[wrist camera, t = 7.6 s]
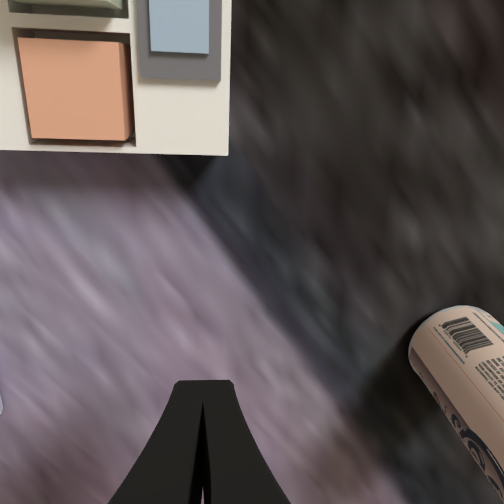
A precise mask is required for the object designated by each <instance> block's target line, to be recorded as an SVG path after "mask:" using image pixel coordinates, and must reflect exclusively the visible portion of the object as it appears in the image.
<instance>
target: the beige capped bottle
mask: <svg viewBox="0 0 504 504" xmlns="http://www.w3.org/2000/svg"><path fill="white" fill-rule="evenodd" d="M408 356H409V362H410V364H411V366H412V368H413V370H414V371H415V372H416V373H417V374H418V375H419V376H420V378H421V379H422V381H423V382H424V384H425V385H426V387H427V388H428V390H429V391H430V393H431V394H432V396H433V397H434V399H435V400H436V402H437V403H438V405H439V406H440V408H441V409H442V411H443V412H444V414H445V415H446V417H447V418H448V420H449V421H450V423H451V424H452V426H453V427H454V429H455V430H456V432H457V433H458V435H459V436H460V438H461V439H462V441H463V443H464V444H465V446H466V447H467V449H468V450H469V452H470V453H471V455H472V456H473V458H474V459H475V461H476V462H477V464H478V465H479V467H480V468H481V470H482V471H483V473H484V474H485V476H486V477H487V479H488V480H489V482H490V483H491V485H492V486H493V488H494V489H495V491H496V492H497V494H498V495H499V497H500V498H501V500H502V501H503V503H504V327H503V326H502V325H501V324H500V323H499V322H498V321H496V320H495V319H494V318H493V317H492V316H491V315H490V314H488V313H487V312H485V311H483V310H482V309H480V308H477V307H473V306H454V307H450V308H446V309H443V310H440V311H438V312H436V313H434V314H433V315H432V316H430V317H429V318H428V319H426V320H425V321H424V322H423V323H422V324H421V325H420V326H419V327H418V329H417V330H416V331H415V333H414V335H413V337H412V339H411V341H410V344H409V351H408Z"/></svg>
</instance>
